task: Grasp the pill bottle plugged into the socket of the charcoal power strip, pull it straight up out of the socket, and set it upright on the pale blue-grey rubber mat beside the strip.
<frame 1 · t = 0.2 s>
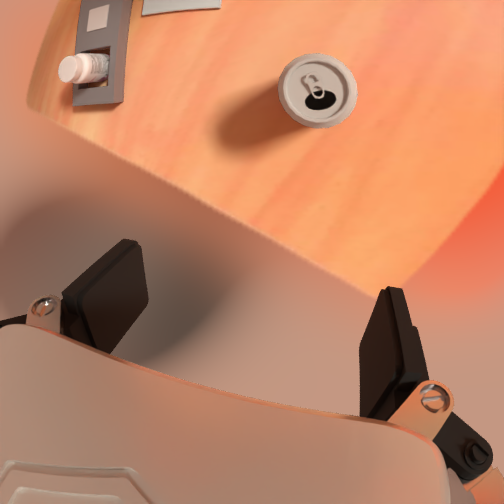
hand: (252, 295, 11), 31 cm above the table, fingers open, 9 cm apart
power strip: (106, 28, 33), on the table
pill bottle: (104, 67, 37), resting in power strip
can: (319, 92, 34), on the table
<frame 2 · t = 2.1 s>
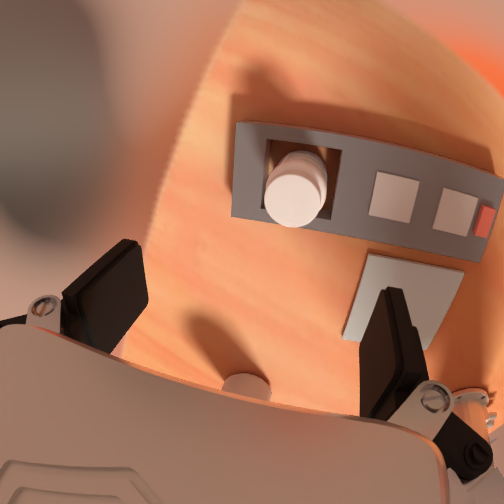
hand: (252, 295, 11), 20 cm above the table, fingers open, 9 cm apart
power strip: (374, 186, 27), on the table
mat: (402, 306, 32), on the table
pill bottle: (302, 172, 28), resting in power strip
can: (249, 383, 45), on the table
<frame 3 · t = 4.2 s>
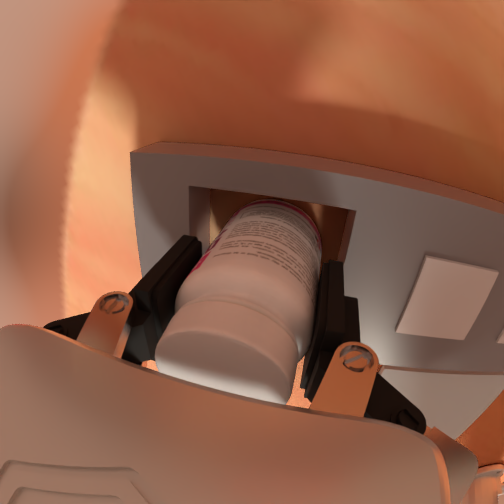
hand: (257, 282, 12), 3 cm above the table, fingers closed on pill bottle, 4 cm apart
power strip: (409, 267, 14), on the table
mat: (422, 415, 19), on the table
pill bottle: (273, 241, 15), resting in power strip, touching gripper
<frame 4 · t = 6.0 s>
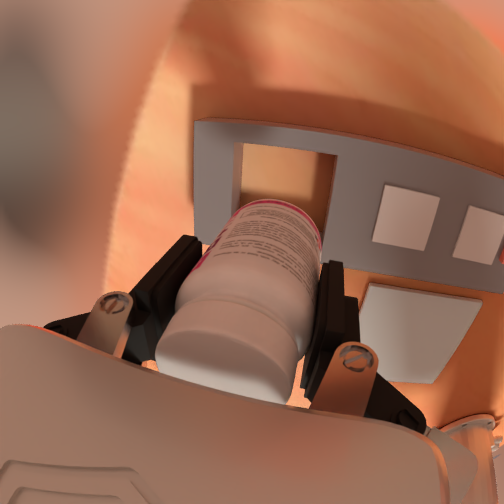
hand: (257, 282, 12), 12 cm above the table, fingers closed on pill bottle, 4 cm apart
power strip: (379, 201, 21), on the table
mat: (407, 340, 26), on the table
pill bottle: (273, 241, 15), point 8 cm above the table, touching gripper
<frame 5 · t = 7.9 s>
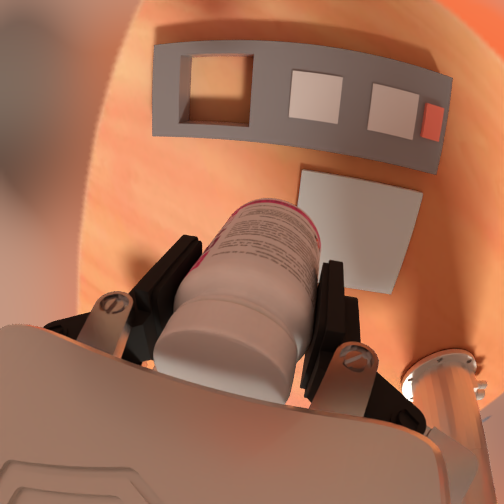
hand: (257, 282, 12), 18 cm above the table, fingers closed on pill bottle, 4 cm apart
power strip: (299, 94, 24), on the table
mat: (352, 235, 30), on the table
pill bottle: (272, 240, 15), point 15 cm above the table, touching gripper
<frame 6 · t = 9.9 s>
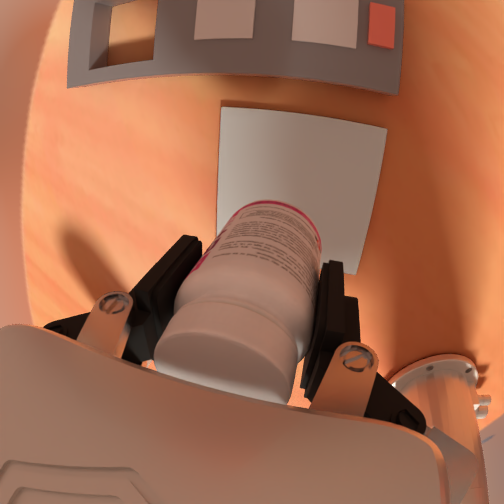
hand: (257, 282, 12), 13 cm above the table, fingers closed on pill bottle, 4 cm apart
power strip: (216, 21, 18), on the table
mat: (295, 191, 23), on the table
pill bottle: (273, 241, 15), point 9 cm above the table, touching gripper
when the fingers open (5 cm above the table, at t = 11.6 s): pill bottle drops 1 cm, resting on mat.
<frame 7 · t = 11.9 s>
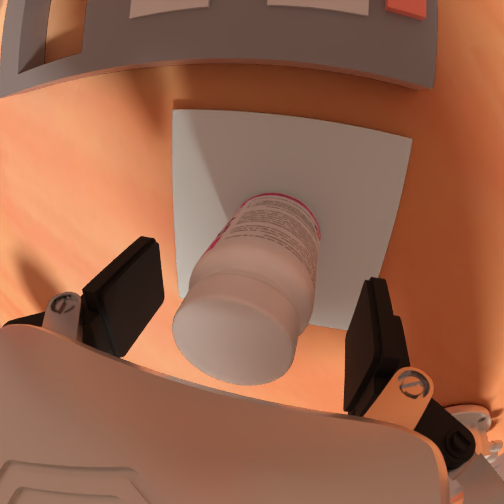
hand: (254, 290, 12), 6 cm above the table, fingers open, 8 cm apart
mat: (278, 226, 17), on the table
pill bottle: (276, 230, 16), resting on mat
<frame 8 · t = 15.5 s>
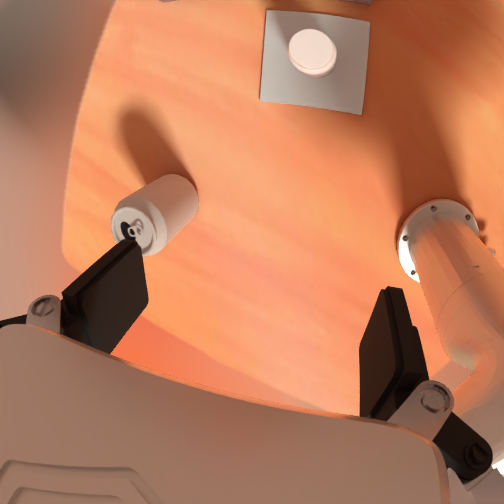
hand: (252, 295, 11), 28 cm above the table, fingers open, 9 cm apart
mat: (315, 59, 29), on the table
pill bottle: (314, 59, 29), resting on mat
can: (177, 197, 42), on the table
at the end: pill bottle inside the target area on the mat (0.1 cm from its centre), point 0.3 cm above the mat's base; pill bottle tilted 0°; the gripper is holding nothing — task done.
